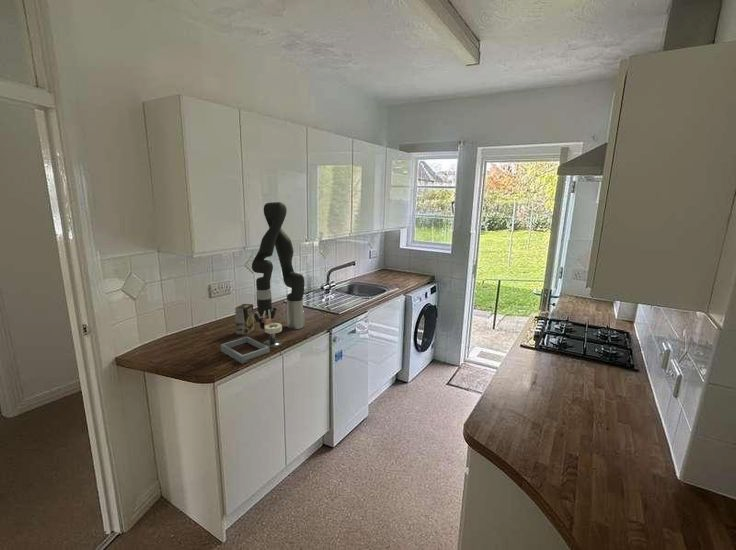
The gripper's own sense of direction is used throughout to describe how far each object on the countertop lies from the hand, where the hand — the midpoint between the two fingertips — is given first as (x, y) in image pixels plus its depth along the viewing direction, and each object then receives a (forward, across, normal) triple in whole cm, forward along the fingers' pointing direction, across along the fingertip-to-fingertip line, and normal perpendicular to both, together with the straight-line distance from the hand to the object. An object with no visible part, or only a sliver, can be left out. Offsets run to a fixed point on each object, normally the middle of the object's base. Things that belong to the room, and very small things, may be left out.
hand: (265, 327), depth 193 cm
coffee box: (+8, +1, -18) cm, 20 cm away
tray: (+7, +16, +5) cm, 18 cm away
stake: (+8, +1, +7) cm, 10 cm away
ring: (0, 0, +5) cm, 5 cm away
